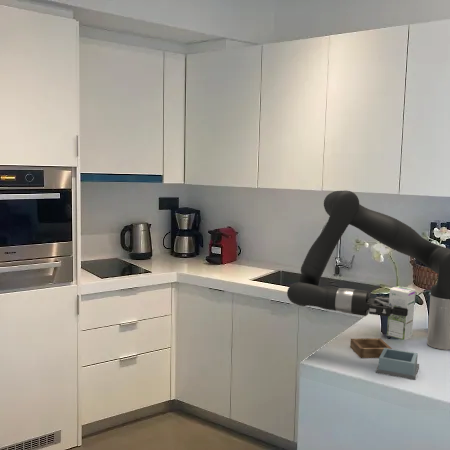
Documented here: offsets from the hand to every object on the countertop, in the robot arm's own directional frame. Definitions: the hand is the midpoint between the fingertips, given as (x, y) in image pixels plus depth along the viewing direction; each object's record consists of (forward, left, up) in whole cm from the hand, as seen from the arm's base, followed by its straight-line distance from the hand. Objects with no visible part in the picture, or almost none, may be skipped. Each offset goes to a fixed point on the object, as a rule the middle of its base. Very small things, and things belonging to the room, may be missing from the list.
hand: (409, 309), depth 161 cm
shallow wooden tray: (+5, -16, -19) cm, 25 cm away
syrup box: (+2, -1, -9) cm, 9 cm away
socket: (+2, -1, -19) cm, 19 cm away
